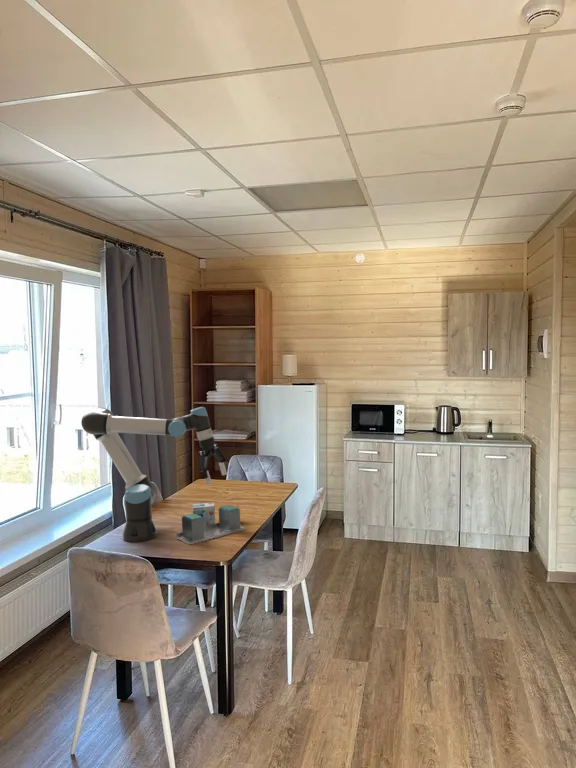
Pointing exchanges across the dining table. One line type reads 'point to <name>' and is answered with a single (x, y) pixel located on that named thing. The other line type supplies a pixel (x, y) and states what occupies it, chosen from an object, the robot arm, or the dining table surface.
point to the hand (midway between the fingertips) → (217, 479)
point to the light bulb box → (205, 512)
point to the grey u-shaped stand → (210, 526)
